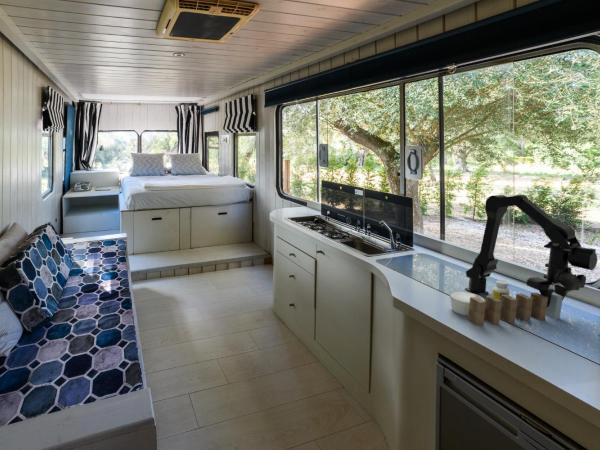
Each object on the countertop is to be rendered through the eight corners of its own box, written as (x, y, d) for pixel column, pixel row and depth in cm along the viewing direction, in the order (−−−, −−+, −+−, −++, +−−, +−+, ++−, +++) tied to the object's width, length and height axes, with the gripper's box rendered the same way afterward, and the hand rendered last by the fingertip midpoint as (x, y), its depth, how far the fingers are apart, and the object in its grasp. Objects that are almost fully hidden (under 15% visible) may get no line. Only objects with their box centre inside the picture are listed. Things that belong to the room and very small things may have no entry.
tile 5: (467, 319, 139) (470, 297, 138) (473, 319, 140) (475, 296, 138) (477, 325, 134) (479, 302, 133) (483, 325, 135) (485, 302, 133)
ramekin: (488, 318, 141) (490, 303, 140) (455, 317, 141) (456, 302, 140) (475, 305, 152) (476, 292, 151) (445, 305, 152) (446, 291, 151)
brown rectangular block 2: (528, 314, 145) (531, 292, 143) (533, 314, 145) (536, 292, 144) (539, 320, 140) (542, 297, 138) (544, 319, 140) (548, 297, 139)
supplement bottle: (498, 311, 147) (501, 284, 145) (487, 305, 152) (490, 280, 150) (510, 309, 148) (513, 283, 147) (499, 304, 154) (502, 279, 152)
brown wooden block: (498, 317, 142) (501, 294, 140) (504, 316, 142) (506, 294, 141) (509, 323, 137) (511, 300, 136) (514, 322, 138) (517, 299, 136)
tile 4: (483, 318, 140) (485, 296, 139) (489, 317, 141) (491, 295, 139) (493, 324, 136) (496, 301, 134) (499, 323, 136) (501, 300, 135)
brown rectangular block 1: (513, 315, 143) (516, 293, 142) (519, 315, 144) (521, 293, 142) (524, 321, 138) (527, 299, 137) (530, 321, 139) (532, 298, 137)
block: (542, 313, 146) (545, 291, 144) (548, 312, 146) (551, 291, 145) (554, 319, 141) (557, 296, 140) (559, 318, 142) (562, 296, 140)
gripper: (554, 270, 130) (548, 317, 133) (602, 268, 135) (595, 313, 138) (528, 261, 141) (522, 304, 144) (573, 259, 145) (567, 301, 148)
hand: (552, 306), depth 143 cm, fingers open, 4 cm apart
